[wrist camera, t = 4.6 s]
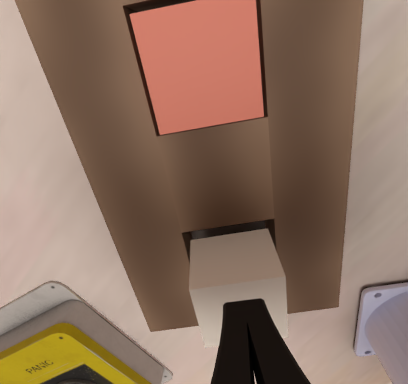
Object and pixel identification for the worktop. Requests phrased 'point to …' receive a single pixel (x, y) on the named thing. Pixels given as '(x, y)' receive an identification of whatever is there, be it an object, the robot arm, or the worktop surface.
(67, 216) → the worktop surface
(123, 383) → the emergency button
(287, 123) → the walnut plunger housing
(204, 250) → the off-white plunger
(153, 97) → the salmon red square block
